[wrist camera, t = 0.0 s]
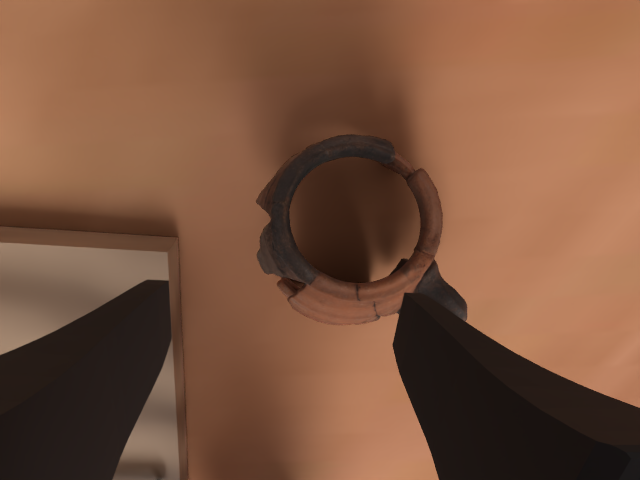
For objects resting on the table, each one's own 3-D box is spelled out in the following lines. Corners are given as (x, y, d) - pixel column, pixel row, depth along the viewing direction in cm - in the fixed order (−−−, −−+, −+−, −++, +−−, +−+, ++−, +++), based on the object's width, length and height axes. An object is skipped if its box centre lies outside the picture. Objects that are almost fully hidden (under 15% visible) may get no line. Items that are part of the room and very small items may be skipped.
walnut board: (189, 496, 29) (176, 547, 26) (21, 499, 28) (-14, 553, 24) (177, 237, 21) (158, 265, 18) (-62, 222, 19) (-132, 249, 16)
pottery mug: (231, 270, 22) (202, 257, 14) (310, 145, 24) (325, 70, 16) (400, 371, 23) (467, 415, 14) (468, 240, 24) (562, 214, 16)
